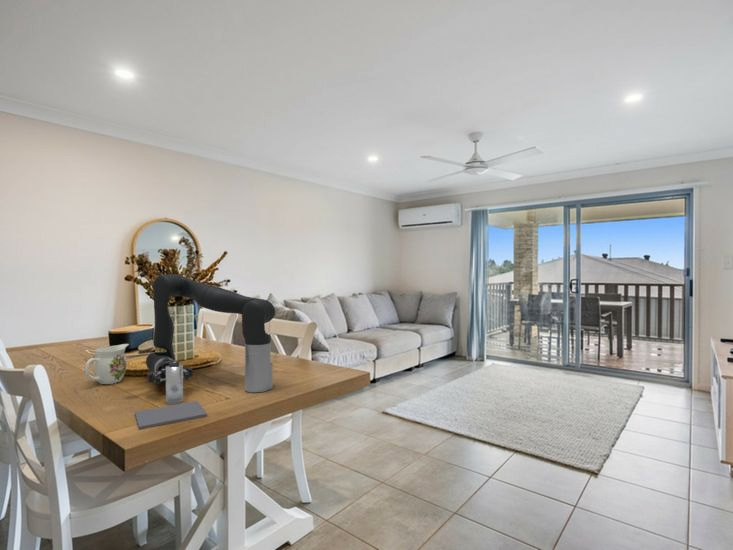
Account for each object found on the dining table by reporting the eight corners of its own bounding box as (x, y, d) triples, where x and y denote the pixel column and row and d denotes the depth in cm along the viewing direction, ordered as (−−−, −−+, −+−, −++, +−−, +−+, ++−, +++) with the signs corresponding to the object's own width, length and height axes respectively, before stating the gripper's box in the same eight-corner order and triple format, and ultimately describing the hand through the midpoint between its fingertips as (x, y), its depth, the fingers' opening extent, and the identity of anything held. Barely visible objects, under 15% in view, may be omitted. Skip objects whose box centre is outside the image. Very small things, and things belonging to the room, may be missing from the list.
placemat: (197, 403, 133) (197, 400, 133) (206, 416, 121) (206, 413, 121) (134, 414, 123) (134, 411, 123) (138, 429, 111) (138, 426, 111)
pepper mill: (181, 398, 138) (181, 359, 138) (184, 402, 134) (184, 361, 133) (164, 400, 135) (164, 360, 135) (167, 405, 131) (166, 364, 130)
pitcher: (74, 388, 149) (74, 351, 148) (118, 375, 166) (118, 343, 166) (96, 391, 145) (96, 353, 145) (138, 378, 162) (138, 344, 162)
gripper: (144, 361, 146) (149, 371, 132) (186, 356, 154) (195, 365, 140) (145, 381, 146) (149, 393, 133) (187, 376, 154) (195, 386, 140)
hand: (173, 378), depth 136 cm, fingers open, 8 cm apart
